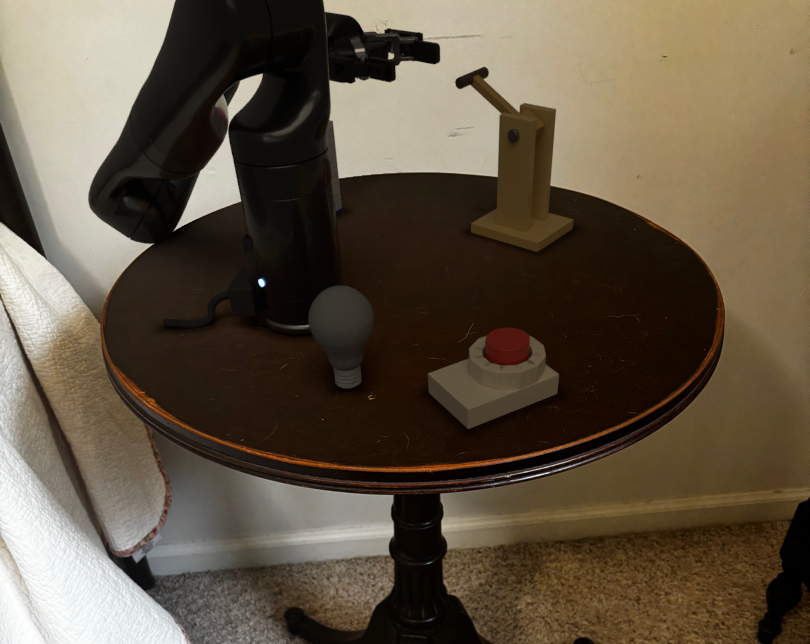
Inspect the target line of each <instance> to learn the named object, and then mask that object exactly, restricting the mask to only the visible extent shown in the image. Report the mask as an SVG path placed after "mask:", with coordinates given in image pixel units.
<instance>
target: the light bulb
mask: <svg viewBox="0 0 810 644" xmlns="http://www.w3.org/2000/svg"><path fill="white" fill-rule="evenodd" d="M308 322H309V327H310V330H311V335H312V337H313V339H314V340H315V341H316V342H317V344H318V345H319V346H320V348H322V350H323V351H324V352H325V353H326V356H327V359H328V362H329V363H330V365H331V367H332V368H333V374H334V375H333V376H334V382H335V385H336V386H337V387H339V388H342V389H353V388H356V387H358V386H359V385H361V383H362V380H363V379H362V370H361V364H362V362H363V358H364V349H365V347H366V345H367V343H368V341H369V340H370V338H371V335H372V334H373V330H374V325H375V314H374V310H373V307H372V305H371V303H370V301H369V300H368V299H367V298H366V297H365V295H363V293H361V292H360V291H359V290H357V289H356V288H354V287H352V286H348V285H347V286H346V285H344V286H333V287H330V288H327V289H325V290H324V291H322V292H321V293H320V294H319V295H318V296H317V297H316V299H315V300H314V301H313V303H312V305H311V308H310V311H309V316H308Z"/></svg>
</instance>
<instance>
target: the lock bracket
mask: <svg viewBox="0 0 810 644" xmlns="http://www.w3.org/2000/svg"><path fill="white" fill-rule="evenodd" d="M526 110H530V111H531V112H532V113H533V114H534V115H535V116H536V117H537V118H538V119H539V120H541V121H542V122H543V123H544V124H545V127H544V129H543V131H542V132H541V134H540V136H539V138H538V140H537V142H536V143H535V138H536V122H537V119H535V118H530V117H525V116H520V115H515V114H510V113H505V112H504V113H502V114H501V113H499V120H498V150H497V151H498V153H497V155H498V157H497V183H496V184H497V186H496V187H497V188H496V189H497V191H496V208H495V209H493V210H491V211H490V212H488V213H486V214H485V215H483V216H481V217H479V218H477V219H476V220H474V221H472V222H471V223H470V233H472V234H475V235H477V236H482V237H485V238H488V239H492V240H495V241H499V242H502V243H505V244H508V245H512V246H515V247H518V248H521V249H525V250H528V251H532V252H535V253H539V252H540V251H541V250H543V249H545V248H546V247H547V246H549V245H551V244H552V243H554V242H555V241H557V240H559V239H560V238H562V237H563V236H564V235H566V234H567V233H568V232H570V231H572V230H573V229H574V223H575V221H574V219H573V218H569V217H566V216H563V215H559V214H555V213H551V212H549V209H550V195H551V183H552V170H553V156H554V144H555V129H556V117H557V116H556V115H557V109H556V108H554V107H548V106H542V105H538V104H532V103H527V102H523V103H521V104H519V111H518V112H519V113H522V112H524V111H526Z"/></svg>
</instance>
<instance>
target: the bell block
mask: <svg viewBox="0 0 810 644" xmlns="http://www.w3.org/2000/svg"><path fill="white" fill-rule="evenodd" d="M486 336H487V335H484V336H481V337H479V338H477V339H476V340H475V342H474V343H473V344H471V346H470V347H469V348H468V358H466V359H464V360H461V361H458V362H455V363H453V364H449V365H447V366H445V367H441V368H439V369H436V370H433V371H430V372H428V373H427V386H428V387H427V389H428V394H429V395H430V396H431V397H433V398H434V399H435V400H436V402H438V403H439V404H440V405H441V406H442V407H443V408H445V409H446V410H447V411H448V412H449V414H451V415H452V416H453V417H455V419H456V420H457V421H459V422H460V424H462V425H463V426H464V427H465V428H466V429H467V430H470V429H472V428H473V429H474V428H475V427H478V426H480V425H482V424H485V423H488V422H490V421H493V420H495V419H498V418H500V417H503V416H505V415H508V414H510V413H512V412H516V411H518V410H521V409H523V408H526V407H527V406H530V405H533V404H536V403H539V402H540V401H543V400H546V399H548V398H550V397H554V396H555V395H557V394H558V391H559V381H560V374H559V373H558V372H557V371H555V370H554V369H553V368H551V367H550V366H549V365H547V364H546V361H547V354H546V350H545V346H544V344H543V343H541V342H540V341H539V340H537V339H536V338H535V337H533V336H531V335H529V337H530V347H529V357H528V359H527V361H526V362H523V363H520V364H518V365H506V366H501V365H497V364H494V363H490V362H489V361H488V360H487V359H486V357H485V343H486Z"/></svg>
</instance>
